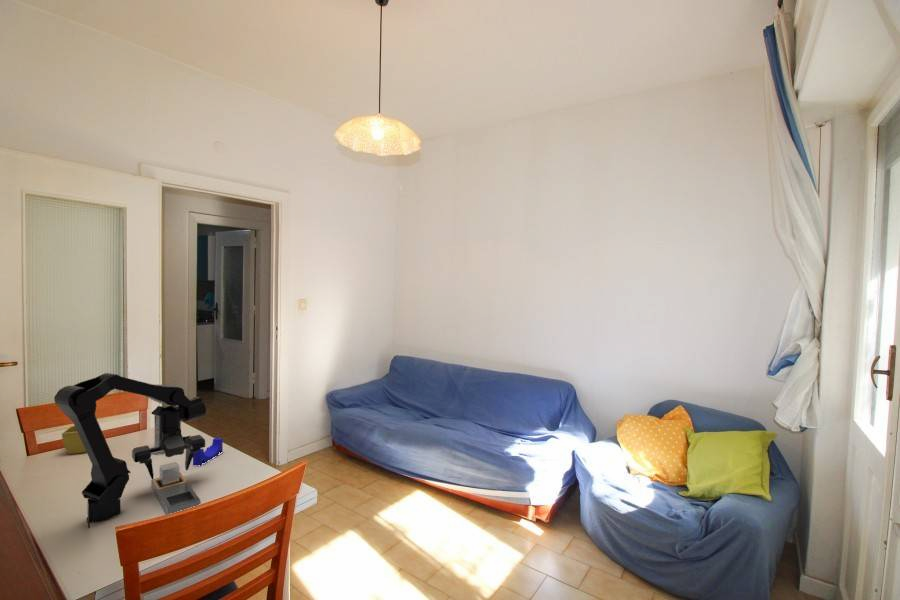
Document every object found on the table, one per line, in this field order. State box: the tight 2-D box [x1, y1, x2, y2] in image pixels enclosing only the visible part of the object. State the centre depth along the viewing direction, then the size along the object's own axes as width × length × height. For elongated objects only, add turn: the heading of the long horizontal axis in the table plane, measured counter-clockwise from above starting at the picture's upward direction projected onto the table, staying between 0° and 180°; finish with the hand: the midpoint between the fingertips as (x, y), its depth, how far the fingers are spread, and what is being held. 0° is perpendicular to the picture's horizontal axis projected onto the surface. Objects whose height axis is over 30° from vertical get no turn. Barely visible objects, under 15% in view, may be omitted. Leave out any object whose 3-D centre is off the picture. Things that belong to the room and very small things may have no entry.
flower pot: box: [61, 425, 87, 455], centre depth 161 cm, size 9×9×9 cm
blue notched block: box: [192, 437, 224, 467], centre depth 157 cm, size 12×4×6 cm, turn 173°
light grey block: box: [159, 461, 181, 488], centre depth 133 cm, size 4×4×7 cm
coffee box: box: [153, 405, 177, 455], centre depth 165 cm, size 9×6×16 cm
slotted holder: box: [150, 472, 201, 515], centre depth 128 cm, size 8×24×3 cm, turn 44°
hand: (169, 474), depth 133 cm, fingers open, 9 cm apart
